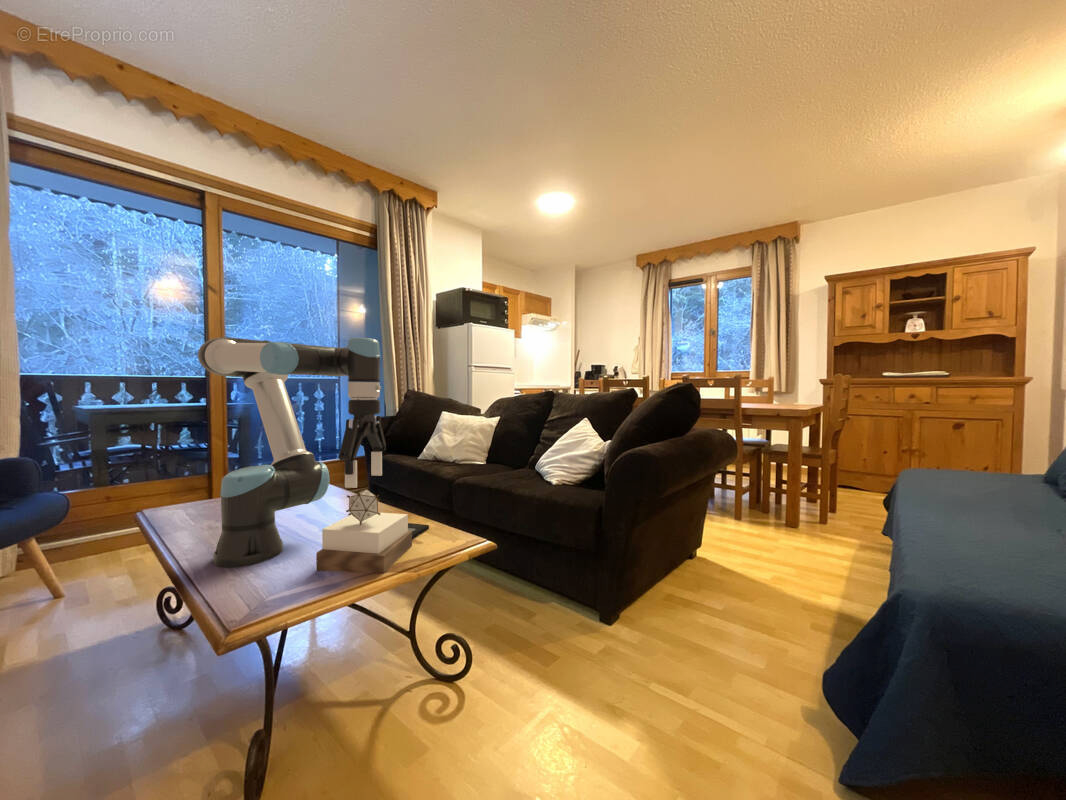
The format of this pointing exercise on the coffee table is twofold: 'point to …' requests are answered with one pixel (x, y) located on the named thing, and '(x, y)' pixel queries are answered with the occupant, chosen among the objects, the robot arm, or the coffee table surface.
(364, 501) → the game die
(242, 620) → the coffee table surface
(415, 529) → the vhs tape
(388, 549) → the walnut slab
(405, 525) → the cream slab
